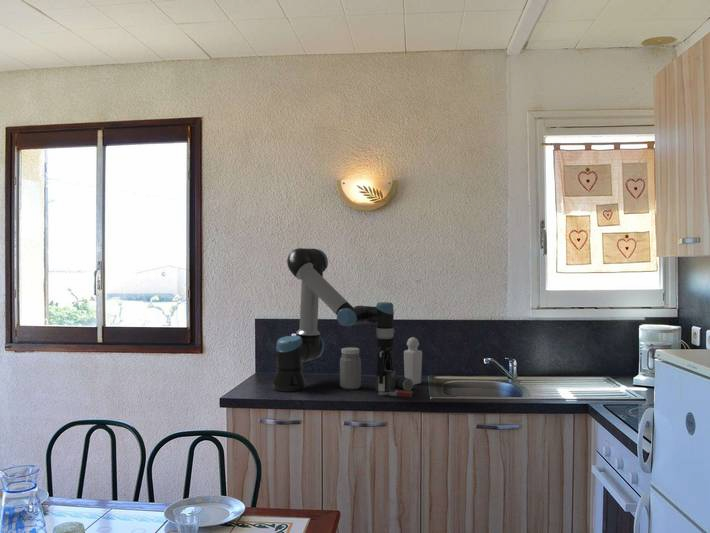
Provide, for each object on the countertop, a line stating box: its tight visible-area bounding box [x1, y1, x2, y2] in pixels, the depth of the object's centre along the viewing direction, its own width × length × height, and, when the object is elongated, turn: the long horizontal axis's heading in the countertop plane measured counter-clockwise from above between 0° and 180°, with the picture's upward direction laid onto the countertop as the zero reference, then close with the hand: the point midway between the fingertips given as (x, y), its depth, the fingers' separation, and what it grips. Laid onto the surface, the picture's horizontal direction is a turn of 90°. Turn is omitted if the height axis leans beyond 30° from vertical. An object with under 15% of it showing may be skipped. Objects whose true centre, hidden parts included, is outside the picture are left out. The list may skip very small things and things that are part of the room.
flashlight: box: [395, 375, 414, 391], centre depth 252 cm, size 15×5×5 cm, turn 32°
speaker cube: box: [374, 368, 397, 391], centre depth 238 cm, size 7×7×8 cm
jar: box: [339, 346, 362, 390], centre depth 251 cm, size 10×10×18 cm
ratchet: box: [377, 389, 414, 399], centre depth 236 cm, size 15×6×6 cm, turn 70°
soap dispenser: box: [403, 336, 423, 386], centre depth 260 cm, size 6×6×22 cm
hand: (385, 388), depth 238 cm, fingers open, 9 cm apart
